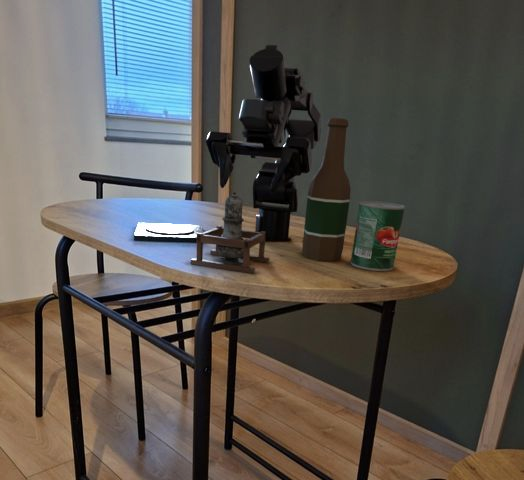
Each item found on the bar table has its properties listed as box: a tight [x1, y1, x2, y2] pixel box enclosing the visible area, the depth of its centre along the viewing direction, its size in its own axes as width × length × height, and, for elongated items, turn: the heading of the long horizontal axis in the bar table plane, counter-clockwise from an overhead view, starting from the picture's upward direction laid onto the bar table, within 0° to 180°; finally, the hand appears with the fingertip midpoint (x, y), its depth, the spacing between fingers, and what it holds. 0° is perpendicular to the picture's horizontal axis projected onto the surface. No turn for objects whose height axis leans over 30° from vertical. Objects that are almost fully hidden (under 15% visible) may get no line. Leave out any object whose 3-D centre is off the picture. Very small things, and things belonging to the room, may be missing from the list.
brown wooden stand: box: [190, 225, 270, 274], centre depth 80 cm, size 9×11×5 cm
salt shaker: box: [215, 189, 245, 266], centre depth 79 cm, size 6×6×12 cm
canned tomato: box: [349, 200, 406, 272], centre depth 85 cm, size 8×8×11 cm
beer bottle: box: [301, 117, 351, 262], centre depth 86 cm, size 8×8×24 cm
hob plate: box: [133, 222, 204, 244], centre depth 100 cm, size 14×14×1 cm
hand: (246, 189), depth 82 cm, fingers open, 9 cm apart
